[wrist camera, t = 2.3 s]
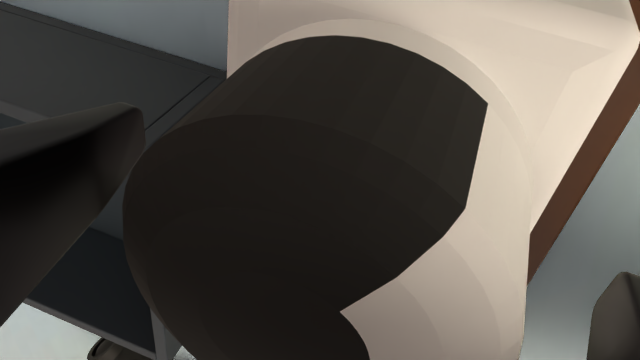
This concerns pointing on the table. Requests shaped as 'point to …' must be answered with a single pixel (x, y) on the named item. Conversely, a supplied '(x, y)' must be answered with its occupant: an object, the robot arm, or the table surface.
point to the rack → (587, 159)
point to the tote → (107, 229)
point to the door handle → (113, 352)
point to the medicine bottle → (369, 176)
